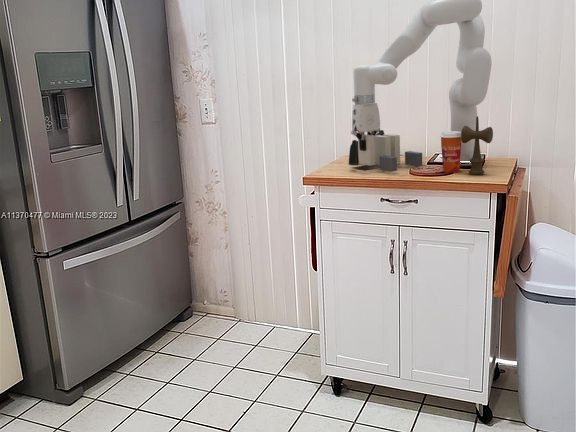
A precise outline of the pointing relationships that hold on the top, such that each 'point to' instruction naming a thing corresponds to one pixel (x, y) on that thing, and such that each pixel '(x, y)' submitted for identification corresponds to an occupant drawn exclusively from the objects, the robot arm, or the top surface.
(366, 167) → the shelf board
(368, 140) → the white book
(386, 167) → the grey book
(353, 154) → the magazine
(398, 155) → the white book
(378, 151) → the white book
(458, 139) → the paper cup
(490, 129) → the kendama
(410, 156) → the grey book
